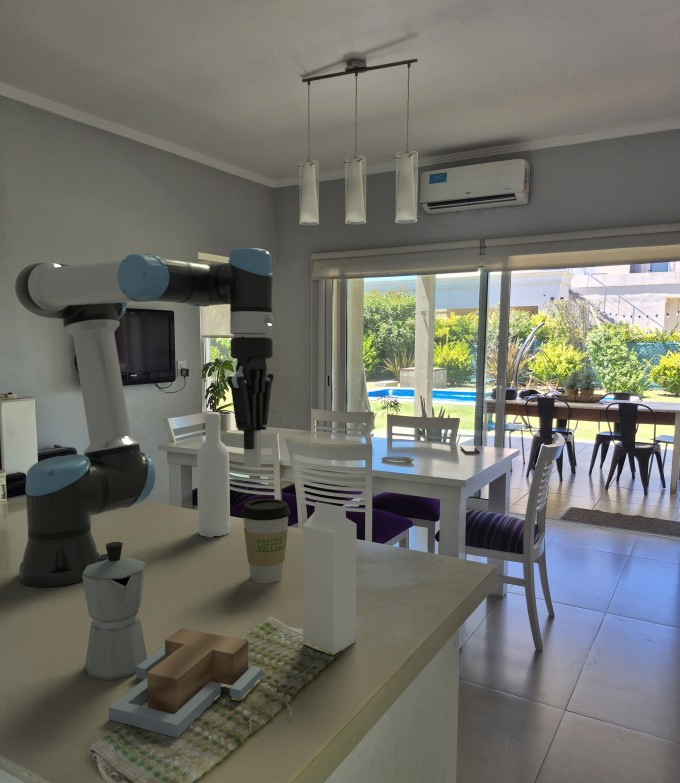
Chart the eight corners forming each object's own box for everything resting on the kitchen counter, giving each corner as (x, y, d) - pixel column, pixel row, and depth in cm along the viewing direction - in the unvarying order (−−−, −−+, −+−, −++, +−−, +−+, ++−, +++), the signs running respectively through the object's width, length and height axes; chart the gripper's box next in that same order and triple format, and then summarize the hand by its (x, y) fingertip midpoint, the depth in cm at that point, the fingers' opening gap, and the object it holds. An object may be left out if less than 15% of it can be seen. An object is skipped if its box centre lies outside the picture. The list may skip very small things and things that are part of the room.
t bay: (88, 713, 77) (87, 701, 77) (162, 657, 91) (162, 647, 91) (201, 744, 71) (200, 731, 71) (262, 679, 86) (262, 667, 85)
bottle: (218, 526, 159) (217, 410, 156) (236, 532, 153) (235, 412, 151) (191, 532, 153) (189, 412, 151) (209, 539, 147) (207, 415, 145)
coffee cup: (282, 589, 117) (282, 511, 116) (234, 584, 119) (233, 508, 118) (296, 570, 127) (296, 499, 126) (251, 567, 129) (250, 496, 128)
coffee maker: (160, 675, 86) (157, 550, 85) (94, 694, 82) (90, 562, 80) (132, 634, 99) (130, 524, 98) (73, 648, 94) (70, 533, 93)
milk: (326, 631, 100) (326, 497, 99) (356, 642, 96) (357, 503, 95) (302, 645, 95) (302, 505, 94) (333, 657, 92) (333, 511, 90)
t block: (127, 705, 79) (126, 667, 79) (182, 660, 91) (181, 628, 90) (200, 723, 75) (199, 684, 75) (248, 675, 87) (248, 640, 86)
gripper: (252, 335, 103) (253, 474, 105) (286, 337, 116) (286, 461, 117) (213, 335, 106) (215, 471, 108) (250, 337, 118) (251, 458, 120)
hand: (252, 465), depth 112 cm, fingers closed
